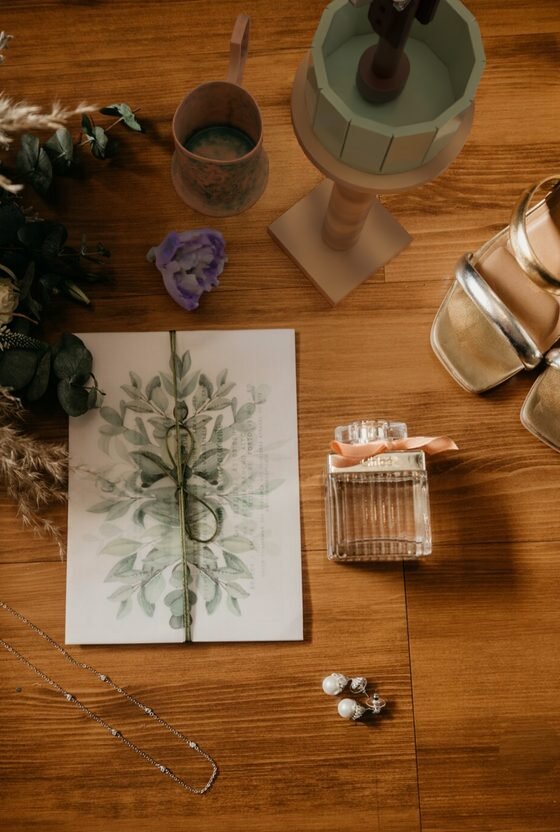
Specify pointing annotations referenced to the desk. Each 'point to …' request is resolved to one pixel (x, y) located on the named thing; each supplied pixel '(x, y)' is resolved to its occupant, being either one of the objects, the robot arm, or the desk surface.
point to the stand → (348, 209)
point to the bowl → (413, 109)
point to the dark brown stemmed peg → (384, 69)
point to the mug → (221, 140)
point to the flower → (190, 263)
